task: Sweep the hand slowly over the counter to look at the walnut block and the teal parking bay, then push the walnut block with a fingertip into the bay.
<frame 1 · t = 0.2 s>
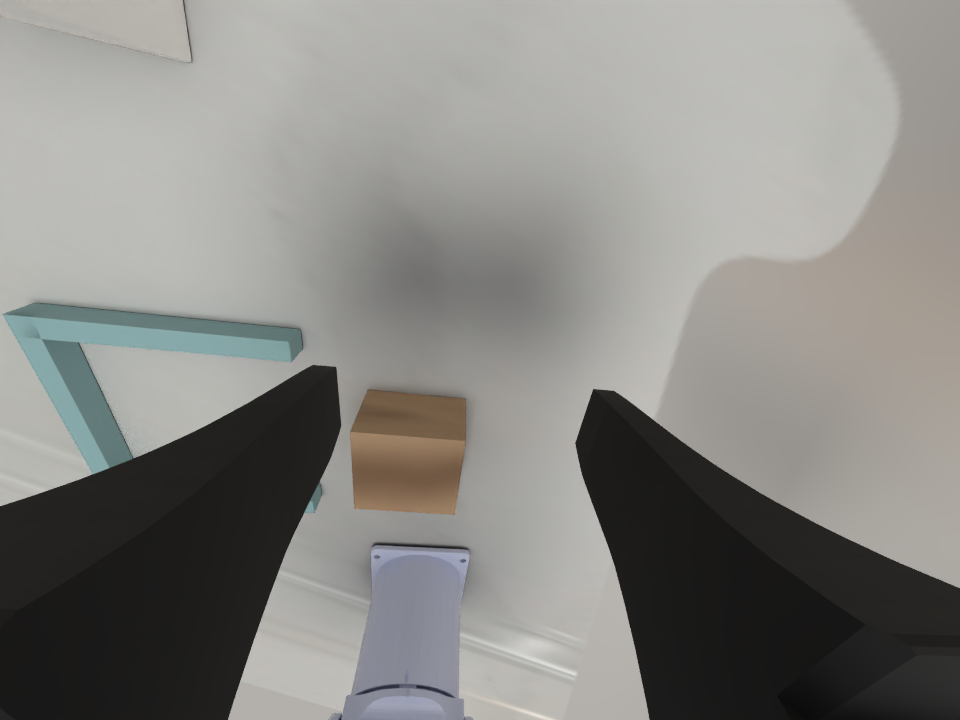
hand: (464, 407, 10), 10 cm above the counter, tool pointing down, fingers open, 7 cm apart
walnut block: (415, 429, 24), on the counter
teal parking bay: (204, 415, 23), on the counter
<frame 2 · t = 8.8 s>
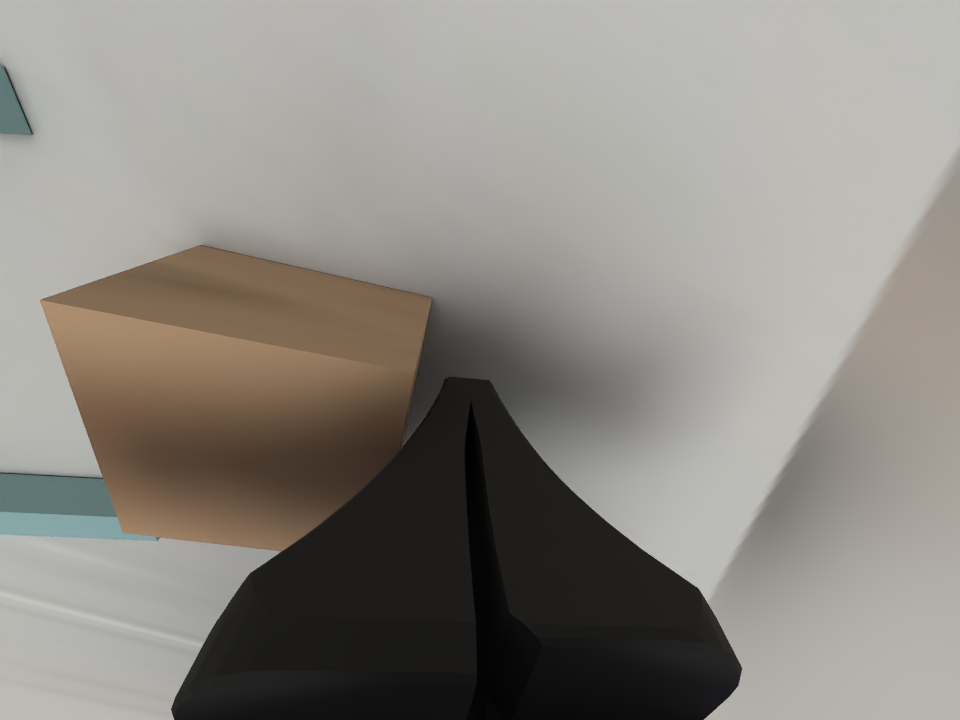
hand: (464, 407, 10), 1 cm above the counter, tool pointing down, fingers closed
walnut block: (317, 366, 11), on the counter, touching gripper
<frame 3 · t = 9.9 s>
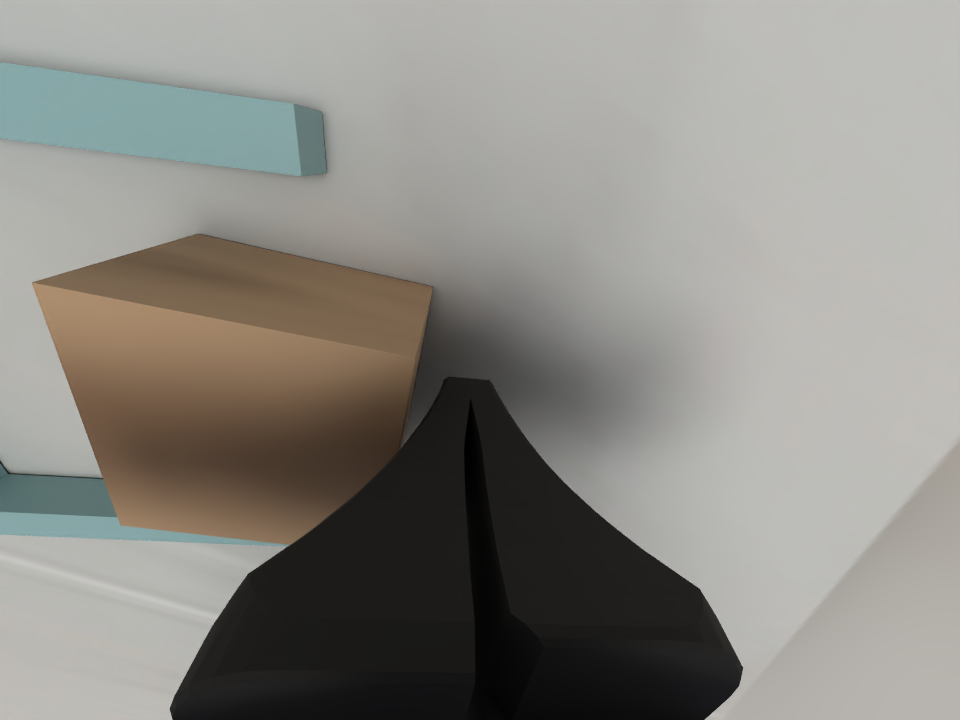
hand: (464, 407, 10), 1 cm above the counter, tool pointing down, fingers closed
walnut block: (317, 358, 11), on the counter, touching gripper
teal parking bay: (116, 352, 11), on the counter
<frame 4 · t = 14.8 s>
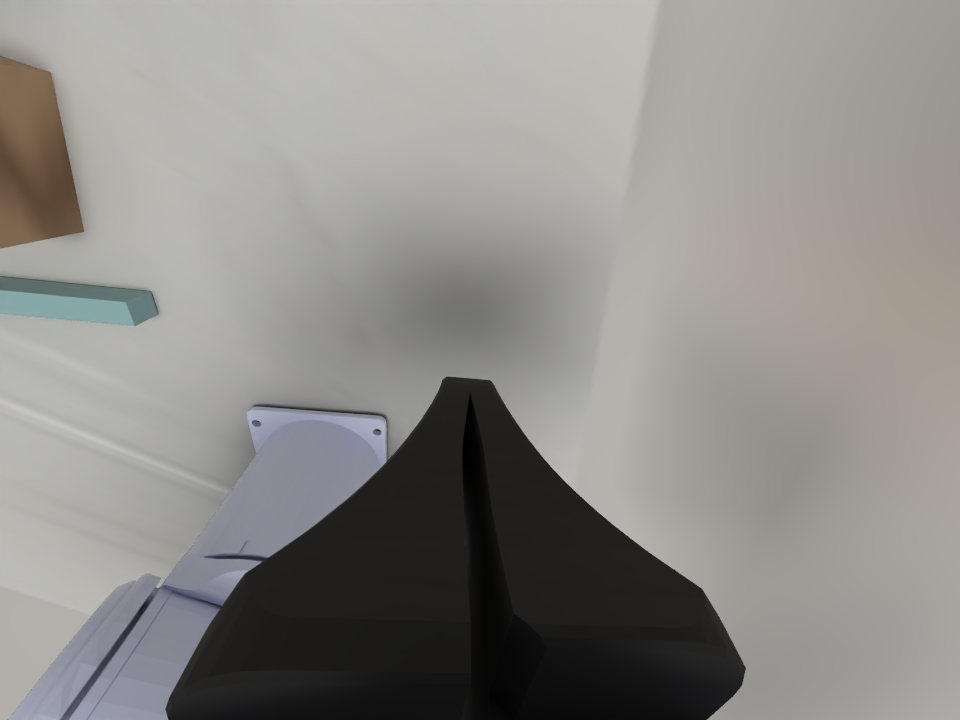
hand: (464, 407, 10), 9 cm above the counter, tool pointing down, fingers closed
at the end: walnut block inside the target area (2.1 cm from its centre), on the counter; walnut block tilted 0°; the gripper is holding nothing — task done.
